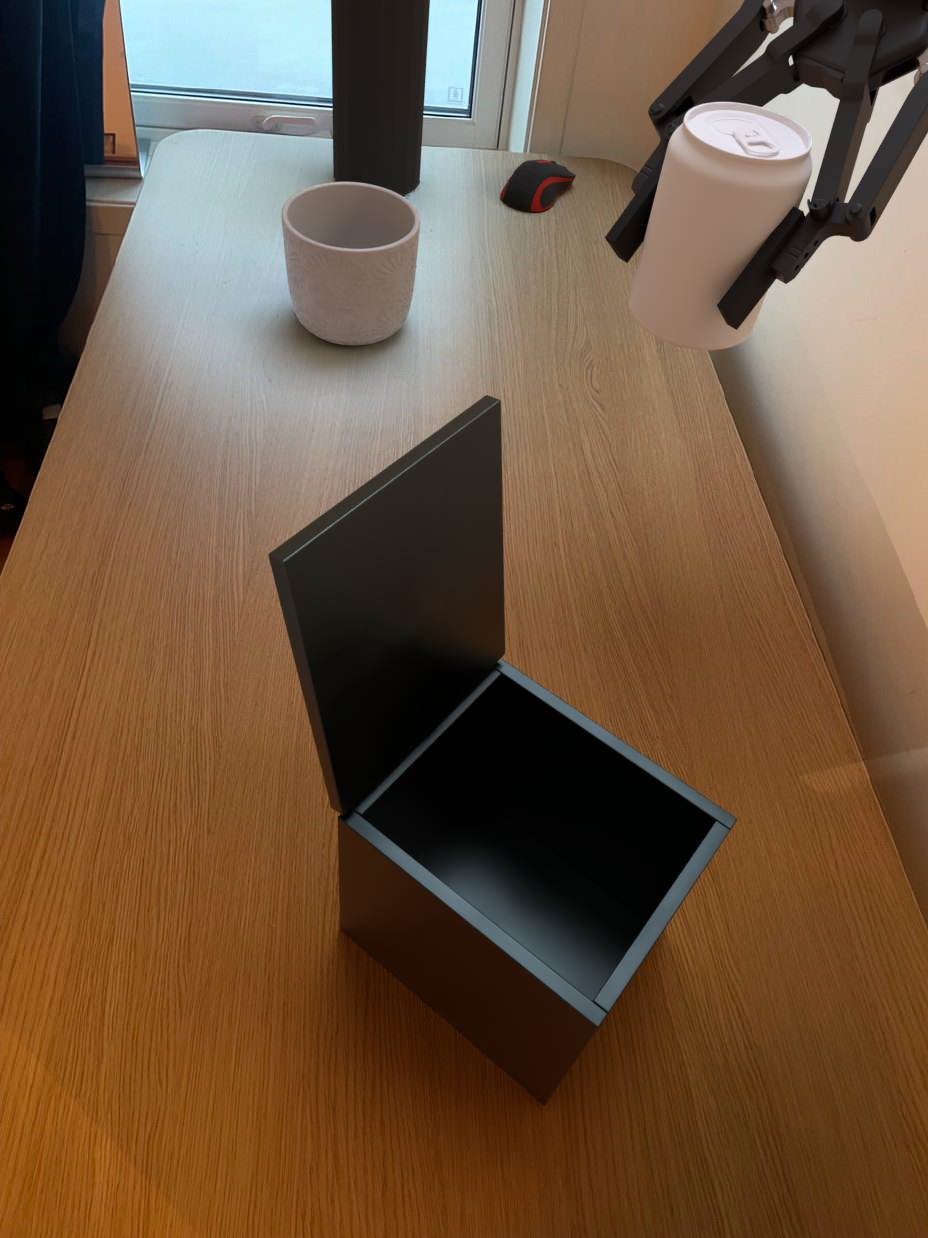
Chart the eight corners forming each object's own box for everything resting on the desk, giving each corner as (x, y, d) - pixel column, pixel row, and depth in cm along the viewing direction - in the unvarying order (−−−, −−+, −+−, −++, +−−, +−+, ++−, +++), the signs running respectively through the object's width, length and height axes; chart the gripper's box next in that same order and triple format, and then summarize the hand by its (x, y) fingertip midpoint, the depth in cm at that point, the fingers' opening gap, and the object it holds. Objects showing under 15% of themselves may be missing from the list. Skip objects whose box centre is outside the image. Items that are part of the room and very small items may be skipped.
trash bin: (664, 926, 56) (738, 818, 45) (544, 1106, 49) (598, 1029, 38) (472, 783, 61) (498, 656, 50) (339, 929, 54) (336, 817, 43)
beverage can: (714, 282, 64) (775, 95, 55) (772, 351, 59) (850, 159, 50) (606, 292, 62) (651, 99, 53) (658, 365, 57) (717, 167, 48)
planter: (278, 290, 94) (271, 183, 86) (397, 282, 97) (402, 177, 89) (299, 364, 87) (293, 255, 79) (428, 352, 90) (435, 246, 82)
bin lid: (501, 399, 39) (486, 393, 39) (282, 562, 32) (266, 553, 32) (506, 654, 50) (493, 647, 50) (342, 816, 43) (330, 808, 43)
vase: (339, 199, 107) (336, -127, 84) (327, 157, 113) (321, -158, 90) (427, 197, 109) (448, -121, 86) (410, 156, 115) (426, -151, 92)
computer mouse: (579, 184, 115) (586, 150, 112) (538, 217, 109) (543, 183, 106) (535, 167, 117) (540, 134, 114) (491, 199, 110) (495, 165, 107)
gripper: (1105, 40, 50) (821, 392, 55) (789, -75, 59) (568, 236, 64) (1128, -67, 44) (803, 344, 48) (768, -178, 53) (524, 177, 57)
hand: (669, 282), depth 56 cm, fingers closed on beverage can, 8 cm apart
